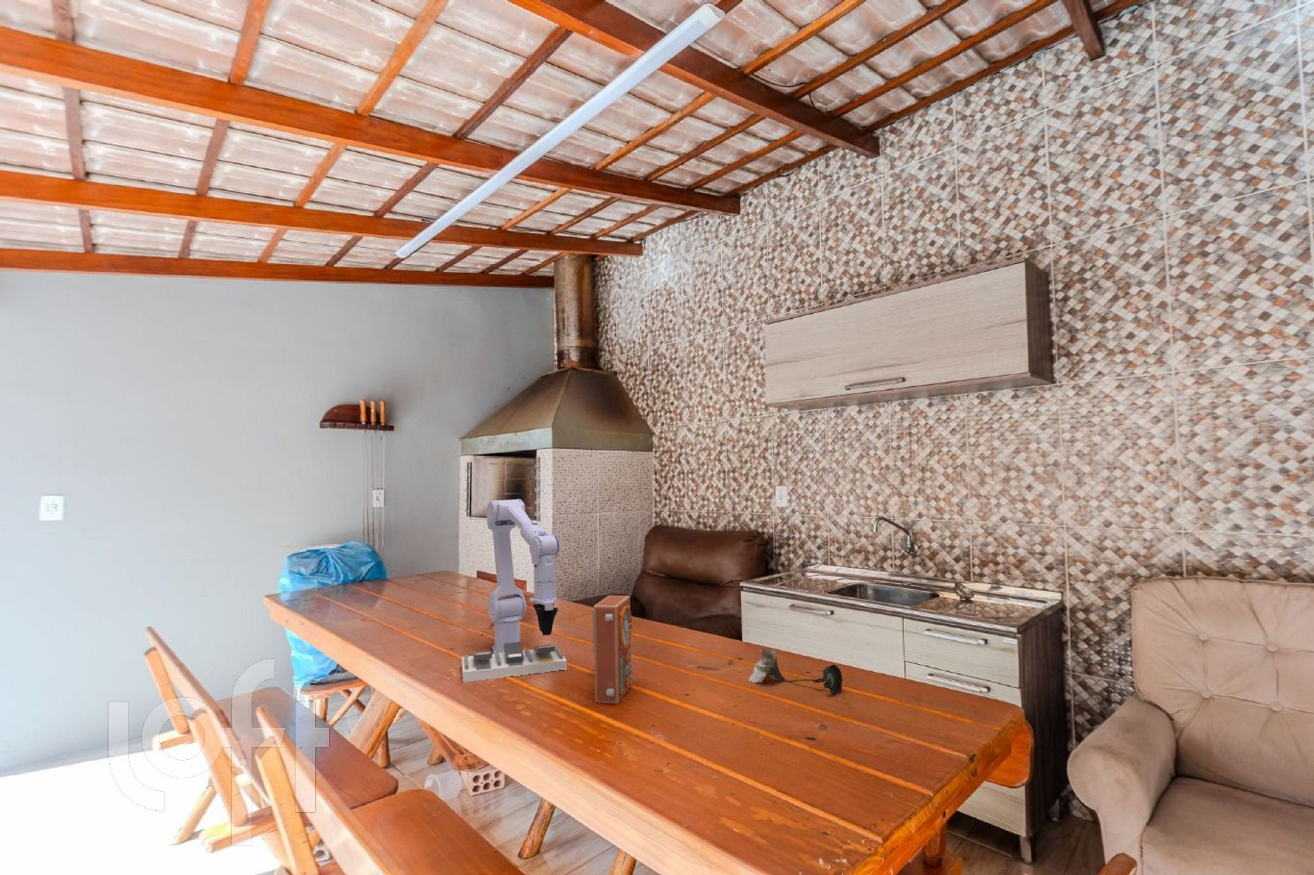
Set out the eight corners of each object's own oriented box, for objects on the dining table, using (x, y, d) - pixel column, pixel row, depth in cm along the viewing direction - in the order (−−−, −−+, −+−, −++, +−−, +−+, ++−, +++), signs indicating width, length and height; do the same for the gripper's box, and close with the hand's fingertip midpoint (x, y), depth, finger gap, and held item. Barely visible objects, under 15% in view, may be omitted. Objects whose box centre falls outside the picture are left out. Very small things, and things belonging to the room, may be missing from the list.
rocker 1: (473, 657, 170) (472, 651, 171) (490, 655, 172) (489, 650, 172) (474, 660, 162) (474, 654, 162) (492, 658, 163) (492, 652, 164)
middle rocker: (503, 647, 173) (503, 643, 173) (520, 646, 175) (520, 641, 174) (506, 662, 165) (506, 657, 165) (523, 660, 166) (523, 655, 166)
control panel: (635, 683, 155) (619, 706, 140) (608, 682, 156) (589, 704, 141) (634, 594, 156) (618, 607, 141) (606, 594, 157) (587, 606, 143)
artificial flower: (830, 707, 141) (817, 665, 140) (747, 696, 156) (736, 658, 155) (847, 685, 147) (835, 645, 146) (766, 677, 162) (755, 640, 162)
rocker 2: (533, 650, 175) (533, 645, 176) (549, 648, 177) (549, 643, 177) (537, 653, 167) (537, 647, 167) (554, 651, 168) (554, 646, 169)
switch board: (461, 666, 172) (461, 653, 172) (558, 656, 180) (558, 643, 180) (463, 682, 159) (463, 668, 159) (566, 670, 167) (566, 656, 167)
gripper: (526, 577, 175) (526, 628, 174) (533, 586, 161) (533, 640, 161) (552, 576, 177) (552, 625, 177) (560, 584, 164) (561, 638, 163)
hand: (545, 632), depth 169 cm, fingers open, 4 cm apart
